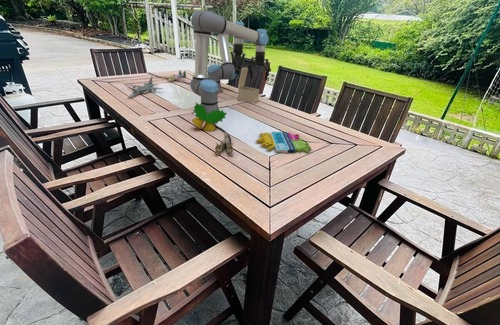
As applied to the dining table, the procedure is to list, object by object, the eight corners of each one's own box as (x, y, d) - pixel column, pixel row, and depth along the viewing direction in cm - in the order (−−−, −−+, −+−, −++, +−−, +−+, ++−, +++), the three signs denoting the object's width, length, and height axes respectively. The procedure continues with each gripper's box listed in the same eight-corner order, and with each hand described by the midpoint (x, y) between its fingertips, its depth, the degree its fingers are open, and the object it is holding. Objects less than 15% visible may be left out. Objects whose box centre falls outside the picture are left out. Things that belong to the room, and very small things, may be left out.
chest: (258, 100, 227) (259, 89, 222) (253, 103, 219) (254, 91, 214) (243, 97, 232) (243, 86, 228) (237, 99, 225) (238, 88, 220)
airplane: (122, 88, 234) (120, 76, 229) (158, 85, 247) (157, 74, 242) (127, 100, 206) (124, 88, 201) (167, 97, 219) (166, 85, 214)
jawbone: (234, 135, 144) (233, 125, 135) (233, 160, 138) (232, 151, 129) (217, 135, 144) (216, 125, 135) (216, 160, 138) (214, 150, 129)
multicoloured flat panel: (313, 150, 142) (258, 149, 139) (312, 153, 143) (258, 152, 140) (301, 132, 164) (254, 130, 161) (301, 134, 165) (254, 133, 162)
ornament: (218, 133, 171) (224, 110, 169) (221, 134, 163) (227, 111, 161) (186, 125, 162) (192, 101, 160) (189, 126, 155) (195, 101, 153)
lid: (248, 67, 218) (239, 64, 221) (243, 68, 211) (234, 65, 213) (244, 85, 227) (236, 82, 229) (239, 88, 219) (230, 84, 222)
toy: (194, 71, 284) (182, 76, 258) (194, 78, 288) (182, 83, 262) (171, 69, 289) (156, 73, 263) (171, 75, 293) (157, 80, 267)
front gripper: (277, 52, 202) (274, 80, 212) (248, 49, 211) (246, 76, 221) (273, 53, 196) (270, 82, 206) (243, 49, 205) (242, 77, 215)
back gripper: (248, 44, 209) (246, 74, 220) (232, 42, 214) (231, 72, 226) (244, 44, 203) (242, 76, 215) (227, 42, 208) (227, 73, 220)
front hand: (258, 79), depth 214 cm, fingers open, 13 cm apart
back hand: (237, 74), depth 220 cm, fingers closed on lid, 2 cm apart
